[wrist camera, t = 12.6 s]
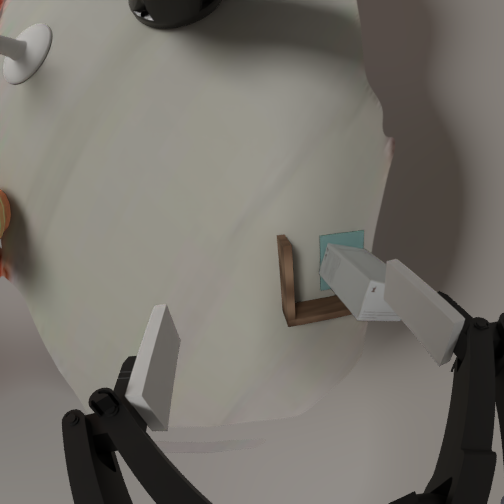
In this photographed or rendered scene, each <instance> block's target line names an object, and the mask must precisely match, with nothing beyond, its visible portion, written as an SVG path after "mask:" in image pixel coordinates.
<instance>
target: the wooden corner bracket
mask: <svg viewBox="0 0 504 504" xmlns="http://www.w3.org/2000/svg"><path fill="white" fill-rule="evenodd" d="M277 243H278V255H279V267H280V280H281V294H282V308H283V313H284V316H285V319H286V321H287V324H288V327H291V326H297V325H302V324H308V323H313V322H318V321H323V320H328V319H333V318H337V317H342V316H347V315H351V314H352V313H351V312H350V311H349V309H348V308H347V307H346V306H345V304H344V303H343V302H342V301H341V300H340V298H339V297H338V296H337V295H336V296H330V297H325V298H320V299H314V300H309V301H303V302H297V303H295V298H294V277H293V259H292V245H291V244H290V242H289V241H288V239H287V238H286V236H285V235H278V236H277Z"/></svg>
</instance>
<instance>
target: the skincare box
mask: <svg viewBox="0 0 504 504" xmlns="http://www.w3.org/2000/svg"><path fill="white" fill-rule="evenodd" d="M319 275H320V276H321V277H322V278H323V279H324V281H325V282H326V283H327V284H328V285H329V286H330V288H331V289H332V290H333V291H334V292H335V294H336V295H337V296H338V297H339V298H340V300H341V301H342V302H343V303H344V304H345V306H346V307H347V308H348V309H349V311H350V312H351V313H352V314H353V315H354V317H355V318H356V319H357V320H359V321H401V319H400V318H399V316H398V315H397V314H396V313H395V312H394V311H393V309H392V308H391V307H390V306H389V305H388V304H387V302H386V301H385V300H384V289H385V278H386V264H385V263H384V262H382V261H381V260H380V259H378V258H377V257H375V256H374V255H373V254H371V253H370V252H369V251H367V250H366V249H361V248H356V247H350V246H345V245H338V244H332V243H328V244H327V247H326V251H325V254H324V258H323V261H322V264H321V267H320V270H319Z"/></svg>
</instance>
